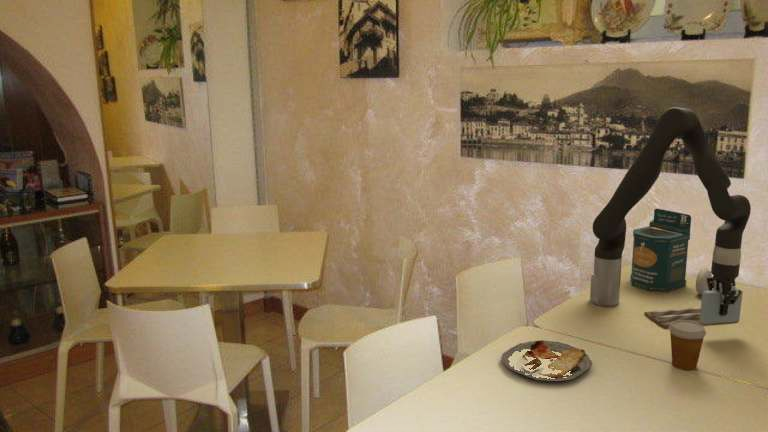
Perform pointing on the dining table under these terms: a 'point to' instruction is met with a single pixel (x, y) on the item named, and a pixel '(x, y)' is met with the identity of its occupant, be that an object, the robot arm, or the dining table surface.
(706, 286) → the beige flat disc
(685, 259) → the donation box
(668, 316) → the floor track
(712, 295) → the door panel
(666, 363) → the dining table surface
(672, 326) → the disposable coffee cup
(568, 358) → the food plate
